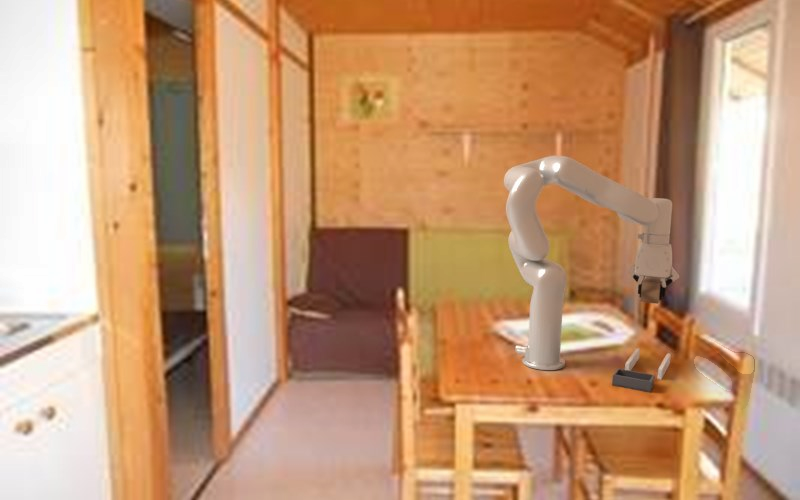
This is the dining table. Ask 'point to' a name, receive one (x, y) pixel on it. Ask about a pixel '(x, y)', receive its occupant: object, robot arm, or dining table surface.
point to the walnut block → (651, 290)
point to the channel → (635, 357)
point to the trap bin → (633, 380)
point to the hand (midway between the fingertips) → (651, 297)
